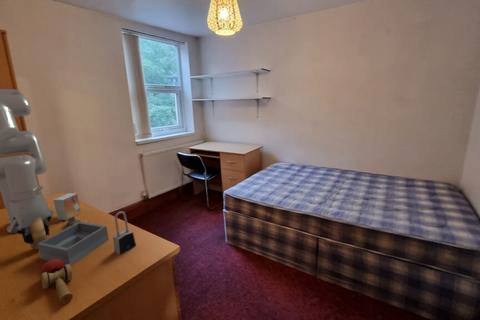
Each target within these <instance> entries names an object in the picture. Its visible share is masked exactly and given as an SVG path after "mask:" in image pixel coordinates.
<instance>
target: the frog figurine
mask: <svg viewBox="0 0 480 320" xmlns="http://www.w3.org/2000/svg"><path fill="white" fill-rule="evenodd" d="M78 222H83V221H81V220H80V219H76V218H75V217H71V218H69V219H68V220H67V222H66V224H65V225H64V228H65V229H66V228H68V227H70V226H72V225H74V224H76V223H78ZM84 223H90V224H91V222H90V221H89V220H84ZM63 230H64V229H62V230H61V231H63Z"/></svg>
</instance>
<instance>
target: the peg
mask: <svg viewBox="0 0 480 320" xmlns="http://www.w3.org/2000/svg"><path fill="white" fill-rule="evenodd" d="M29 233H30V234H31V235H32V239H33V244H29V246H30V248H32V249H38V246H37V244H38V243H40V242H42V241H44V240H46V239H48V237H47V236H48V235H46V232H45V228H44V224H43V220H42V219H41V217H40V218H37V219H35V220H33V224H32V225H31V226H29Z"/></svg>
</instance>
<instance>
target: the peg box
mask: <svg viewBox="0 0 480 320" xmlns="http://www.w3.org/2000/svg"><path fill="white" fill-rule="evenodd" d="M108 233H109V232H108V228H107V225H102V224H95V223H91V222H90V223H89V222H85V221H84V222H83V221H82V222H77V223H76V224H74V225H72V226H70V227H68V228H65V229H63V230H61V231H59V232H57V233H55V234H54V235H52V236H50V237H47V239H46V240H44V241H42V242H40V243H38V244H37V246H38V248H37V250H38V253H39V257H40V259H41V260H44V261H47V262H48V261H50V260H53V259H60V260H62V261H63V262H64V263H65V265H67V264H70V266H71V267H72V266H73V265H74V264H76V263H77V262H79V261H80V260H81V259H83V258H84V257H86V256H88V255H89V254H90V253H92V252H93V251H95V250H96V249H98V248H99V247H100V246H102V245H103V244H105V243H106V242H107V241H109V234H108Z"/></svg>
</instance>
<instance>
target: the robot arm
mask: <svg viewBox="0 0 480 320" xmlns="http://www.w3.org/2000/svg"><path fill="white" fill-rule="evenodd" d="M31 114H32V106H31V104H30V102H29V99H28V98H27V96H26V95H25V94H24V93H22V91H20V90H18V89H14V88H13V89H7V88H6V89H5V88H3V89H2V88H1V89H0V156H1V157H0V194H1V197H2V200H3V204H4V207H5V211H6V213H7V217H8V218H7V220H8V222H9V223H10V225H8V226H7V227H6V231H7V232H8V233H10V234H18V235H21V236H22V239H23V242H24V243H26V244H29V245H30V244H33V239H32V235H31V234H30V233H29V226H31V225H32V224H33V220H35V219H37V218H40V217H41V219H42V220H43V224H44V228H45V232H46V236H50V228H49V225H50V222H51V220H52V218H53V216H54V215H55V212H56V211H54V210H52V209H50V207H49V205H48V202H47V200H46V198H45V196H44V194H43V193H42V192H41V190H43V186H42V185H39V183H38V179H37V176H40V175H43V174H45V173H46V172H47V170H48V168H47V167H48V166H47V162H46V159H45V155H44V153H43V150H42V147H41V144H40V141H39V138H38V137H37V135H36V134H35V133H34V132H33V131H31V130H30V131H29V130H22V131H21V130H19V127H18V124H17V120H16V118H15V117H24V116H25V117H26V116H29V115H31ZM18 154H19V155H18ZM11 155H12V156H11Z"/></svg>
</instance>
